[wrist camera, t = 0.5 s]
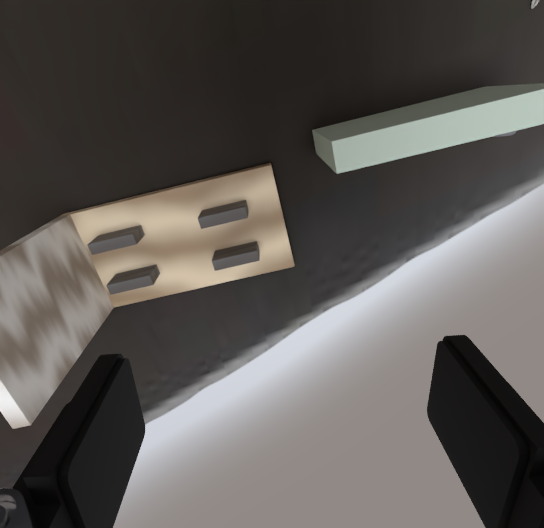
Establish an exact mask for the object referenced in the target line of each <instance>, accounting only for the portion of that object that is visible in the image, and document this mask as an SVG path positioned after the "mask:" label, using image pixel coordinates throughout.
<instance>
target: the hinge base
mask: <svg viewBox="0 0 544 528" xmlns="http://www.w3.org/2000/svg"><path fill="white" fill-rule="evenodd" d="M294 266H295V265H294V261H293V256H292V252H291V248H290V243H289V239H288V235H287V231H286V226H285V222H284V218H283V213H282V209H281V205H280V200H279V196H278V192H277V187H276V183H275V179H274V175H273V170H272V166H271V163H268V164H264V165H259V166H255V167H251V168H247V169H243V170H239V171H235V172H231V173H227V174H223V175H219V176H215V177H211V178H207V179H203V180H199V181H195V182H191V183H186V184H182V185H178V186H174V187H170V188H166V189H162V190H158V191H154V192H150V193H146V194H142V195H138V196H134V197H130V198H126V199H122V200H118V201H113V202H109V203H105V204H101V205H97V206H93V207H89V208H85V209H81V210H77V211H73V212H69V213H65V214H62V215H61V216H59V217H57V218H56V219H54V220H52V221H50V222H49V223H47V224H45V225H44V226H42V227H40V228H38V229H37V230H35V231H33V232H31V233H30V234H28V235H26V236H25V237H23V238H21V239H19V240H18V241H16V242H14V243H13V244H11V245H9V246H7V247H6V248H4V249H2V250H1V251H0V411H1V413H2V414H3V416H4V417H5V418H6V420H7V421H8V423H9V424H10V425H11V427H12V428H13V429H14V428H19V427H24V426H29V425H31V424H32V423H33V421H34V420H35V418H36V417H37V416H38V414H39V413H40V411H41V410H42V408H43V407H44V406H45V404H46V403H47V401H48V400H49V399H50V397H51V396H52V394H53V393H54V391H55V390H56V389H57V387H58V386H59V384H60V383H61V381H62V380H63V379H64V377H65V376H66V374H67V373H68V372H69V370H70V369H71V367H72V366H73V364H74V363H75V362H76V360H77V359H78V357H79V356H80V355H81V353H82V352H83V350H84V349H85V347H86V346H87V345H88V343H89V342H90V340H91V339H92V338H93V336H94V335H95V333H96V332H97V330H98V329H99V328H100V326H101V325H102V323H103V322H104V321H105V319H106V318H107V316H108V315H109V313H110V312H111V311H112V309H113V308H114V307H118V306H122V305H127V304H131V303H136V302H140V301H144V300H149V299H153V298H158V297H162V296H166V295H171V294H175V293H180V292H184V291H189V290H193V289H197V288H202V287H206V286H211V285H215V284H219V283H224V282H228V281H233V280H237V279H242V278H246V277H250V276H255V275H259V274H264V273H268V272H272V271H277V270H281V269H286V268H290V267H294Z"/></svg>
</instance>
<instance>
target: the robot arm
mask: <svg viewBox="0 0 544 528" xmlns="http://www.w3.org/2000/svg"><path fill="white" fill-rule="evenodd" d="M427 413H428V418H429V421H430V423H431V424H432V427H433V428H434V430H435V432H436V434H437V436H438V438H439V440H440V442H441V443H442V445H443V448H444V449H445V451H446V453H447V455H448V457H449V459H450V461H451V463H452V465H453V467H454V468H455V470H456V472H457V474H458V476H459V478H460V480H461V482H462V483H463V486H464V487H465V489H466V491H467V493H468V495H469V497H470V499H471V501H472V503H473V505H474V506H475V508H476V510H477V512H478V514H479V516H480V518H481V520H482V521H483V524H484V525H485V527H486V528H544V423H543V422H542V421H541V420H540V418H539V417H538V416H537V415H536V414H535V413H534V412H533V410H532V409H531V408H530V407H529V406H528V405H527V404H526V403H525V401H524V400H523V399H522V398H521V397H520V396H519V394H518V393H517V392H516V391H515V390H514V389H513V388H512V386H511V385H510V384H509V383H508V382H507V381H506V380H505V379H504V378H503V377H502V376H501V374H500V373H499V372H498V371H497V370H496V369H495V368H494V366H493V365H492V364H491V363H490V362H489V361H488V360H487V358H486V357H485V356H484V355H483V354H482V353H481V352H480V350H479V349H478V348H477V347H476V346H475V345H474V344H473V342H472V341H471V340H470V339H469V338H468V337H467V336H465V335H456V336H445V337H444V338H443V341H440V342H438V344H437V350H436V356H435V362H434V369H433V375H432V381H431V387H430V394H429V400H428V407H427ZM144 435H145V423H144V419H143V414H142V410H141V406H140V402H139V398H138V394H137V390H136V386H135V382H134V378H133V373H132V369H131V365H130V362H129V359H127V358H123V356H122V354H107V355H100V356H99V358H98V359H97V361H96V362H95V364H94V365H93V367H92V369H91V370H90V372H89V373H88V375H87V377H86V378H85V380H84V381H83V383H82V384H81V386H80V388H79V389H78V391H77V392H76V394H75V396H74V397H73V399H72V400H71V402H69V403H68V404H66V406H65V407H64V408H63V410H62V411H61V413H60V414H59V416H58V417H57V419H56V421H55V422H54V424H53V425H52V427H51V428H50V430H49V432H48V433H47V435H46V436H45V438H44V439H43V441H42V443H41V444H40V446H39V447H38V449H37V450H36V452H35V453H34V455H33V457H32V458H31V460H30V461H29V463H28V464H27V466H26V468H25V469H24V471H23V472H22V474H21V475H20V477H19V479H18V480H17V482H16V483H15V485H14V486H13V488H2V489H0V528H113V525H114V523H115V520H116V517H117V514H118V511H119V508H120V505H121V502H122V499H123V496H124V494H125V491H126V488H127V485H128V482H129V479H130V476H131V473H132V470H133V467H134V464H135V462H136V459H137V456H138V453H139V450H140V447H141V444H142V441H143V438H144Z"/></svg>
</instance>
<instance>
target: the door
mask: <svg viewBox="0 0 544 528" xmlns="http://www.w3.org/2000/svg"><path fill="white" fill-rule="evenodd" d="M541 124H544V83H539V84H522V85H504V86H487V87H481V88H477V89H473V90H469V91H465V92H461V93H457V94H453V95H449V96H445V97H441V98H437V99H434V100H430V101H426V102H422V103H418V104H414V105H410V106H406V107H402V108H398V109H394V110H390V111H386V112H382V113H378V114H374V115H370V116H366V117H362V118H358V119H354V120H350V121H346V122H342V123H338V124H334V125H330V126H326V127H322V128H318V129H314V130H312V133H313V138H314V144H315V149H316V154H317V155H318V156H319V157H320V158H321V159H322V160H323V161H324V162H325V163H326V164H327V165H328V166H329V167H330V168H331V169H332V170H333V171H334V172H335V173H337V174H338V173H343V172H347V171H351V170H355V169H359V168H363V167H367V166H372V165H376V164H380V163H384V162H388V161H392V160H396V159H401V158H405V157H409V156H413V155H417V154H421V153H425V152H429V151H434V150H438V149H442V148H446V147H450V146H454V145H458V144H463V143H467V142H471V141H475V140H479V139H483V138H487V137H492V136H496V137H502V136H509V135H513V134H515V133H516V130H521V129H525V128H529V127H533V126H537V125H541Z"/></svg>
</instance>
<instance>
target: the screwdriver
mask: <svg viewBox="0 0 544 528" xmlns="http://www.w3.org/2000/svg"><path fill="white" fill-rule="evenodd" d="M538 2H539V0H532V2H531V9H533V8H534V7H535V6H536V5H537V4H538Z"/></svg>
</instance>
